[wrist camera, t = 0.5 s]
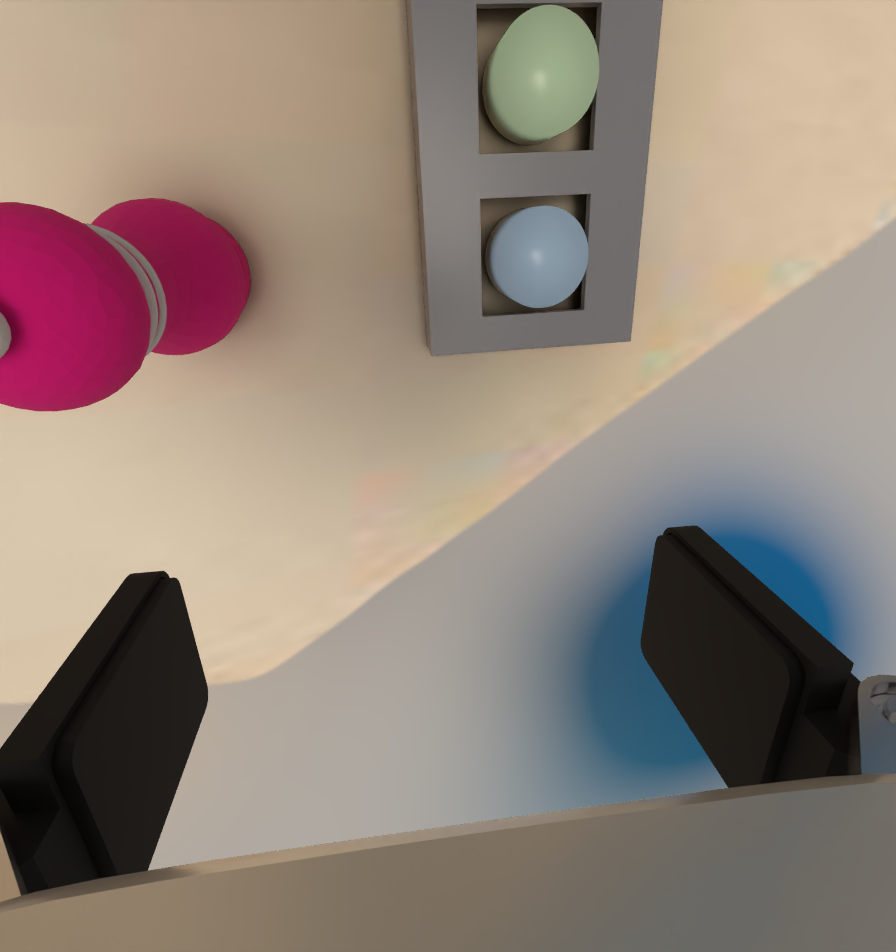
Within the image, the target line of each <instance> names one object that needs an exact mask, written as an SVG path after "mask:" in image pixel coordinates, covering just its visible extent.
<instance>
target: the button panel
mask: <svg viewBox="0 0 896 952" xmlns="http://www.w3.org/2000/svg"><path fill="white" fill-rule="evenodd" d="M541 5H558V6H561V7H597V21H596V39H595V43H596V46H597V50H598V55H599V79H598V84H597V89H596V92H595V95H594V98H593V100H592V112H591V130H590V148H589V150H582V151H556V152H530V153H504V154H479V117H478V64H477V10H476V8H534V7H538V6H541ZM662 5H663V0H406V11H407V27H408V43H409V59H410V76H411V92H412V108H413V124H414V141H415V157H416V173H417V189H418V206H419V222H420V238H421V254H422V271H423V287H424V303H425V319H426V336H427V347H428V349H429V351H430V353H431V355H432V356H439V355H452V354H466V353H479V352H493V351H506V350H520V349H534V348H547V347H561V346H574V345H588V344H602V343H615V342H629V341H631V332H632V321H633V310H634V300H635V289H636V279H637V268H638V258H639V247H640V237H641V226H642V216H643V205H644V194H645V184H646V173H647V163H648V152H649V142H650V131H651V121H652V110H653V100H654V89H655V78H656V68H657V57H658V47H659V36H660V26H661V15H662ZM581 194H587V202H586V221H585V235H586V238H587V242H588V264H587V268H586V271H585V274H584V276H583V278H582V293H581V309H569V310H554V311H540V312H525V313H510V314H495V315H482V278H481V224H480V199H494V198H516V197H538V196H559V195H581Z"/></svg>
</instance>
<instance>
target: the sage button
mask: <svg viewBox="0 0 896 952" xmlns="http://www.w3.org/2000/svg"><path fill="white" fill-rule="evenodd" d="M598 79H599V55H598V50H597V46H596V43H595V40H594V37H593V35H592V33H591V31H590V29H589V28H588V26H587V25H586V24H585V22H584V21H583V20H582V19H581V18H580V17H579V16H578V15H577V14H575V13H574V12H572V11H571V10H569V9H567V8H564V7H561V6H558V5H541V6H538V7H534V8H532V9H530V10H528V11H526V12H525V13H523V14H522V15H520V16H519V17H518V18H517V19H516V20H515V21H514V22H513V23H512V24H511V25H510V27H509V28H508V30H507V31H506V33H505V34H504V36H503V37H502V38H501V40H500V41H499V43H498V44H497V46H496V47H495V49H494V50H493V52H492V53H491V55H490V57H489V59H488V62H487V64H486V67H485V71H484V76H483V86H482V92H483V101H484V106H485V109H486V112H487V115H488V117H489V119H490V121H491V123H492V124H493V126H494V127H495V128H496V130H497V131H498V132H499V133H500V134H501V135H503V136H504V137H505V138H507V139H508V140H510V141H512V142H515V143H517V144H522V145H533V144H538V143H542V142H544V141H546V140H548V139H550V138H552V137H554V136H556V135H558V134H560V133H562V132H564V131H566V130H568V129H569V128H571V127H572V126H573V125H575V124H576V123H577V122H578V121H579V120H580V119H581V118H582V116H583V115H584V114H585V112H586V111H587V109H588V108H589V106H590V104H591V102H592V100H593V98H594V95H595V92H596V89H597V84H598Z"/></svg>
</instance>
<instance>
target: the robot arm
mask: <svg viewBox="0 0 896 952" xmlns="http://www.w3.org/2000/svg"><path fill="white" fill-rule="evenodd" d="M641 649H642V653H643V655H644V658H645V659H646V661H647V663H648V664H649V666H650V667H651V669H652V670H653V672H654V673H655V675H656V676H657V678H658V680H659V681H660V683H661V684H662V686H663V687H664V689H665V690H666V692H667V694H668V695H669V696H670V698H671V699H672V701H673V703H674V704H675V706H676V707H677V709H678V710H679V712H680V714H681V715H682V717H683V718H684V720H685V721H686V723H687V724H688V726H689V728H690V729H691V731H692V732H693V734H694V735H695V737H696V738H697V740H698V741H699V743H700V745H701V746H702V747H703V749H704V751H705V752H706V754H707V755H708V757H709V758H710V760H711V762H712V763H713V765H714V766H715V768H716V769H717V771H718V772H719V774H720V775H721V777H722V778H723V780H724V782H725V783H726V785H727V786H728V788H725V789H718V790H710V791H703V792H696V793H689V794H680V795H673V796H665V797H658V798H650V799H643V800H635V801H628V802H620V803H613V804H605V805H599V806H590V807H583V808H575V809H568V810H561V811H554V812H547V813H540V814H532V815H525V816H518V817H511V818H503V819H496V820H489V821H482V822H475V823H467V824H460V825H453V826H446V827H439V828H432V829H425V830H417V831H411V832H403V833H396V834H389V835H382V836H375V837H368V838H361V839H355V840H348V841H341V842H334V843H327V844H320V845H313V846H307V847H299V848H293V849H286V850H279V851H273V852H265V853H259V854H252V855H244V856H238V857H231V858H224V859H217V860H211V861H205V862H198V863H193V864H186V865H180V866H174V867H168V868H162V869H156V870H150V871H148V868H149V865H150V863H151V860H152V857H153V854H154V851H155V849H156V846H157V843H158V840H159V838H160V834H161V832H162V829H163V826H164V824H165V821H166V818H167V815H168V813H169V810H170V807H171V804H172V802H173V799H174V796H175V793H176V790H177V787H178V785H179V782H180V779H181V777H182V773H183V771H184V768H185V765H186V763H187V760H188V757H189V754H190V752H191V749H192V746H193V743H194V740H195V738H196V735H197V732H198V729H199V727H200V723H201V721H202V718H203V715H204V713H205V710H206V707H207V702H208V687H207V683H206V679H205V676H204V672H203V668H202V664H201V661H200V657H199V653H198V649H197V646H196V642H195V638H194V634H193V630H192V627H191V623H190V619H189V615H188V612H187V608H186V604H185V600H184V597H183V593H182V589H181V585H180V583H179V581H178V579H177V578H169V575H168V574H167V573H166V572H164V571H157V572H145V573H133V574H130V575H129V576H127V577H126V579H125V580H124V581H123V583H122V584H121V585H120V587H119V588H118V590H117V591H116V592H115V594H114V595H113V596H112V598H111V599H110V600H109V602H108V603H107V604H106V606H105V607H104V609H103V610H102V611H101V613H100V614H99V615H98V617H97V618H96V619H95V621H94V622H93V623H92V625H91V626H90V628H89V629H88V630H87V632H86V633H85V634H84V636H83V637H82V638H81V640H80V641H79V642H78V644H77V645H76V647H75V648H74V649H73V651H72V652H71V653H70V655H69V656H68V657H67V659H66V660H65V661H64V663H63V664H62V666H61V667H60V668H59V670H58V671H57V672H56V674H55V675H54V676H53V678H52V679H51V680H50V682H49V683H48V685H47V686H46V687H45V689H44V690H43V691H42V693H41V694H40V695H39V697H38V698H37V699H36V701H35V702H34V704H33V705H32V706H31V708H30V709H29V710H28V712H27V713H26V714H25V716H24V717H23V718H22V720H21V721H20V723H19V724H18V725H17V727H16V728H15V729H14V731H13V732H12V733H11V735H10V736H9V737H8V739H7V740H6V742H5V743H4V744H3V746H2V747H1V749H0V952H896V676H891V675H876V676H871V677H867V678H866V679H865V680H863V681H862V682H860V681H859V680H858V679H857V678H856V677H855V676H854V675H853V674H851V670H852V667H853V664H854V663H853V662H852V661H850V660H849V659H848V658H847V657H846V656H845V655H844V654H843V653H841V652H840V651H839V650H838V649H837V648H836V647H835V646H833V645H832V644H831V643H830V642H829V641H828V640H827V639H826V638H824V637H823V636H822V635H821V634H820V633H819V632H818V631H816V630H815V629H814V628H813V627H812V626H811V625H810V624H809V623H807V622H806V621H805V620H804V619H803V618H802V617H800V616H799V615H798V614H797V613H796V612H795V611H794V610H792V608H790V607H789V606H788V605H787V604H786V603H785V602H784V601H782V600H781V599H780V598H779V597H778V596H777V595H776V594H775V593H773V592H772V591H771V590H770V589H769V588H768V587H767V586H766V585H764V584H763V583H762V582H761V581H760V580H759V579H757V578H756V577H755V576H754V575H753V574H752V573H751V572H750V571H748V570H747V569H746V568H745V567H744V566H743V565H742V564H741V563H739V562H738V561H737V560H736V559H735V558H734V557H733V556H732V555H730V554H729V553H728V552H727V551H726V550H725V549H724V548H722V547H721V546H720V545H719V544H718V543H717V542H716V541H715V540H713V539H712V538H711V537H710V536H709V535H708V534H707V533H705V532H704V531H703V530H702V529H701V528H700V527H698V526H684V527H671V528H667V529H666V530H665V531H664V533H663V535H660V536H658V537H657V539H656V543H655V549H654V555H653V562H652V569H651V575H650V582H649V589H648V595H647V602H646V609H645V615H644V622H643V630H642V635H641Z"/></svg>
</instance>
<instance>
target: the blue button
mask: <svg viewBox="0 0 896 952" xmlns="http://www.w3.org/2000/svg"><path fill="white" fill-rule="evenodd" d="M587 264H588V242H587V238H586V235H585V232H584V230H583V228H582V226H581V225H580V223H579V222H578V221H577V219H576V218H575V217H574V216H573V215H571V214H570V213H569V212H567V211H565V210H563V209H561V208H558V207H554V206H537V207H529V208H522V209H519V210H516V211H513V212H511V213H510V214H508V215H506V216H505V217H504V218H503V219H501V221H500V222H499V223H498V224H497V225H496V226H495V228H494V229H493V231H492V233H491V234H490V237H489V239H488V242H487V245H486V251H485V265H486V270H487V273H488V276H489V278H490V280H491V282H492V283H493V285H494V286H495V288H496V289H497V290H498V291H499V292H500V293H502V294H503V295H505V296H506V297H508V298H510V299H512V300H514V301H516V302H518V303H520V304H522V305H524V306H528V307H533V308H545V307H549V306H553V305H555V304H558V303H560V302H561V301H563V300H565V299H566V298H567V297H569V296H570V295H571V294H572V293H573V292H574V290H575V289H576V288H577V287H578V285H579V284H580V282H581V280H582V278H583V276H584V274H585V271H586V268H587Z"/></svg>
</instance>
